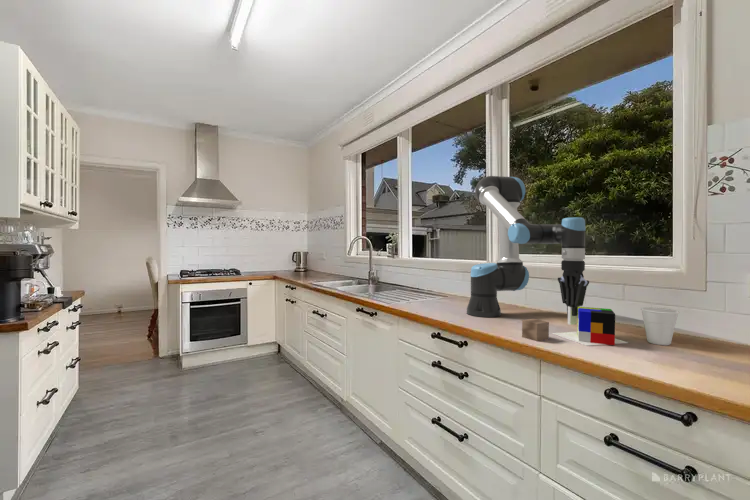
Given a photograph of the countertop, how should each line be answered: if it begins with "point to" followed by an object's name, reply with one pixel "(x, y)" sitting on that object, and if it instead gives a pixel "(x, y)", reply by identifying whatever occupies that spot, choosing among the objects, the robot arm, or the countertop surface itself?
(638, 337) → the countertop surface
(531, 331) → the walnut block
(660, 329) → the cup
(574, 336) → the mat
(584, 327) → the puzzle toy
